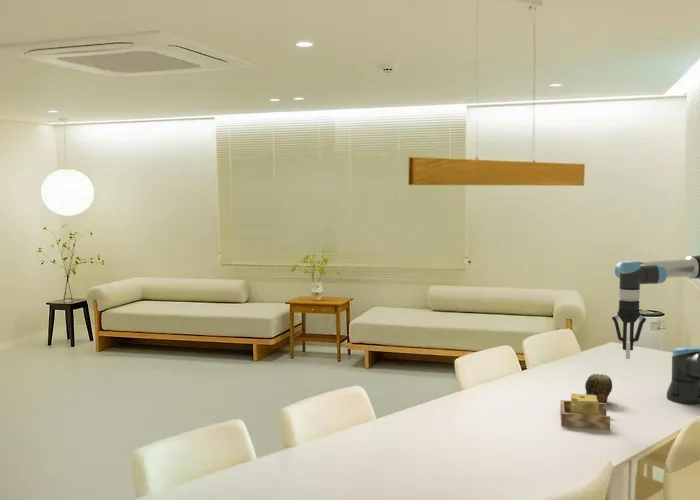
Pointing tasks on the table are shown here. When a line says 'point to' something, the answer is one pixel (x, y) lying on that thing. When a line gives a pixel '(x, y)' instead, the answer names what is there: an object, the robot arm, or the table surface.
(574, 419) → the corral
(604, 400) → the shell
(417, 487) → the table surface
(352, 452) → the table surface
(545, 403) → the table surface
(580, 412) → the cheese
